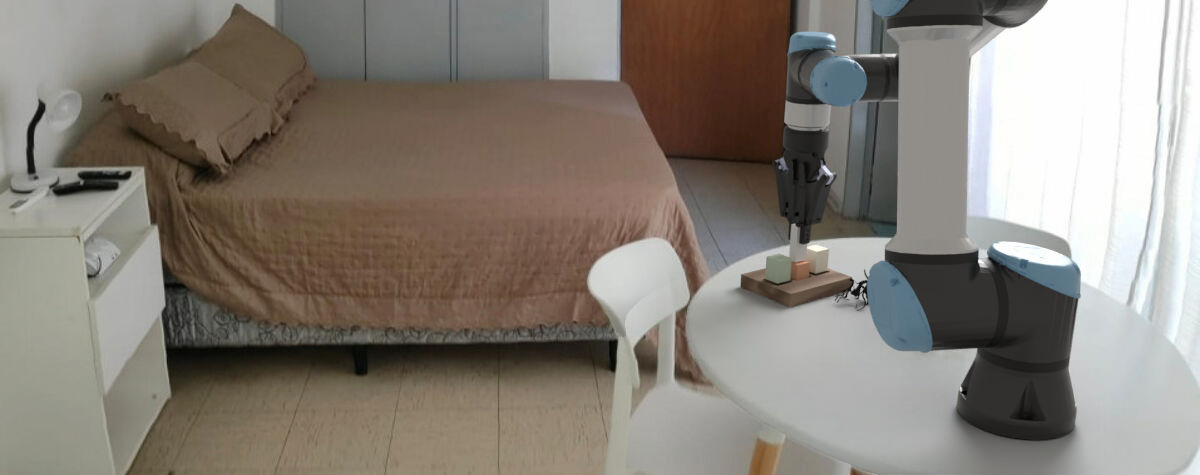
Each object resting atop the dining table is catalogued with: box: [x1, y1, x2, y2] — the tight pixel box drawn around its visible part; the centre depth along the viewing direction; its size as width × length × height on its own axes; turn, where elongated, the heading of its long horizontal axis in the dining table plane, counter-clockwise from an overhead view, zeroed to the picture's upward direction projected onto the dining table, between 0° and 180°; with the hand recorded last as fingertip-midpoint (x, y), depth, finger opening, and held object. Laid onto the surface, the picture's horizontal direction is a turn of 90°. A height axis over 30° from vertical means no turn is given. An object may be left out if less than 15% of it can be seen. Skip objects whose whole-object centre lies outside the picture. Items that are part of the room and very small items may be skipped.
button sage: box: [765, 253, 792, 284], centre depth 203 cm, size 3×3×4 cm
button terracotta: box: [790, 260, 810, 281], centre depth 206 cm, size 3×3×4 cm
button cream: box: [805, 244, 830, 274], centre depth 208 cm, size 3×3×4 cm
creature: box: [834, 269, 869, 311], centre depth 200 cm, size 8×5×8 cm
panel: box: [740, 267, 853, 308], centre depth 206 cm, size 12×15×2 cm
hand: (797, 259), depth 205 cm, fingers closed
